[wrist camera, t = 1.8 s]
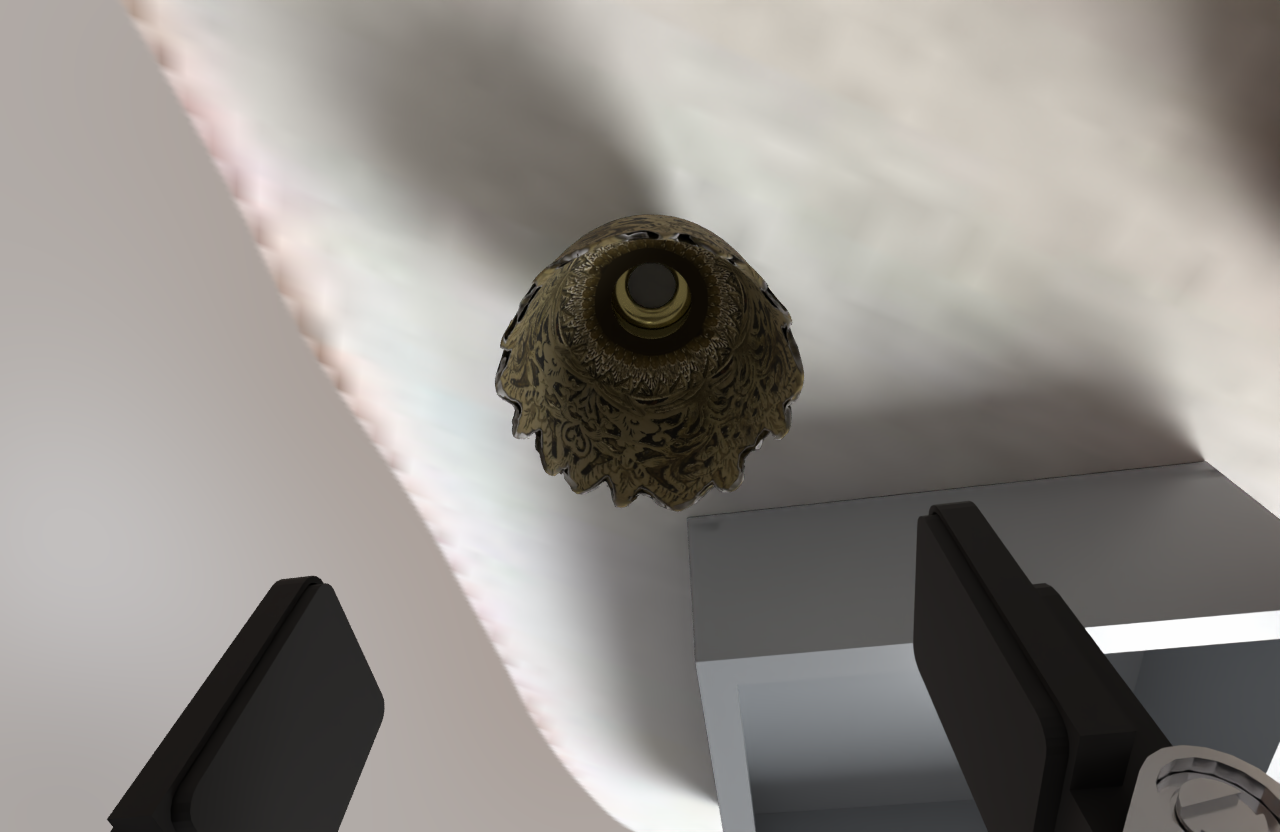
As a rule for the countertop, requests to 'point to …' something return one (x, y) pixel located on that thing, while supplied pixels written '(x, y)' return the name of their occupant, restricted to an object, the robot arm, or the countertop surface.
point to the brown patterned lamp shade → (650, 365)
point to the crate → (884, 621)
